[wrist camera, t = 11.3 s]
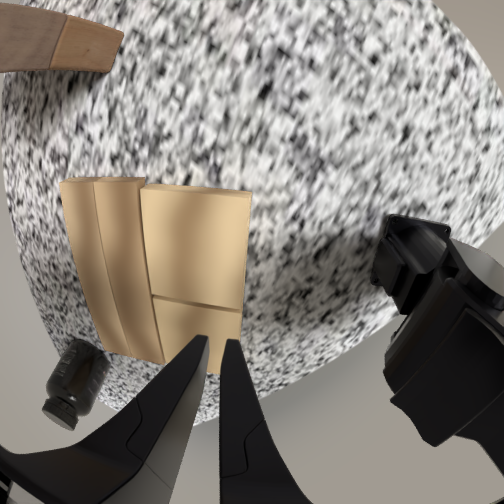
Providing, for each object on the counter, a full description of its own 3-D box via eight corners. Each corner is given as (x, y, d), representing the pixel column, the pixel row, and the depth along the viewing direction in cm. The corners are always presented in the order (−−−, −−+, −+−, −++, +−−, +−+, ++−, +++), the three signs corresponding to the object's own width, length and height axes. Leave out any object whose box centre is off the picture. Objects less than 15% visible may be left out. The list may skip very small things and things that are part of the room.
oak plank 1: (251, 191, 19) (248, 198, 18) (243, 298, 24) (240, 309, 23) (149, 183, 20) (140, 189, 19) (158, 284, 25) (151, 293, 23)
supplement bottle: (76, 359, 34) (44, 418, 23) (67, 331, 30) (26, 395, 20) (114, 375, 34) (85, 441, 24) (108, 349, 31) (71, 422, 20)
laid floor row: (144, 177, 20) (136, 182, 18) (167, 355, 30) (164, 364, 28) (69, 177, 20) (59, 182, 19) (109, 341, 30) (104, 350, 29)
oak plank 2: (243, 302, 24) (240, 313, 23) (238, 366, 29) (236, 377, 28) (158, 288, 25) (152, 298, 24) (170, 353, 29) (165, 362, 28)
